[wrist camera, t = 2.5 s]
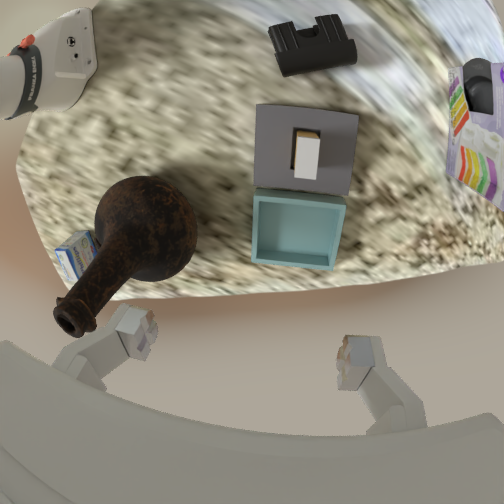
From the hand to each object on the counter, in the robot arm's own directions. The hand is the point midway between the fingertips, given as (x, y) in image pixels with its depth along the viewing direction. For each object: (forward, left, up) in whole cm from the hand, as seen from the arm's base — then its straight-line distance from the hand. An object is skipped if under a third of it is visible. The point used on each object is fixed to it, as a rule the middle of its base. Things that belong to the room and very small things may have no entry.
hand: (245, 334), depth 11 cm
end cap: (-17, +3, -33) cm, 38 cm away
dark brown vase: (+11, -21, -33) cm, 41 cm away
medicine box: (+20, -42, -33) cm, 57 cm away
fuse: (-2, +3, -33) cm, 33 cm away
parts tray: (+11, +3, -33) cm, 35 cm away
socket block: (-2, +3, -33) cm, 33 cm away
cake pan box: (-12, +28, -33) cm, 45 cm away
